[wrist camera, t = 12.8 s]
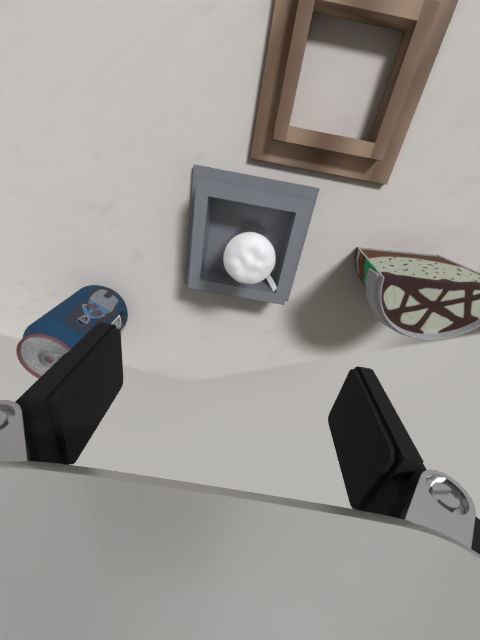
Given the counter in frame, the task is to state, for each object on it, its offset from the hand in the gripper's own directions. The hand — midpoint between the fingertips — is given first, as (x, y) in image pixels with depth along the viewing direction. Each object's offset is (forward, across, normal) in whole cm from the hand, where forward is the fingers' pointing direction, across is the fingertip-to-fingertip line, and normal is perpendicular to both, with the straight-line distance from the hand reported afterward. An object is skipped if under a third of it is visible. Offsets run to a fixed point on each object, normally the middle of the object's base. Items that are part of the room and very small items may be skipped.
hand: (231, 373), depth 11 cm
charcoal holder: (+24, 0, 0) cm, 24 cm away
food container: (+24, -17, +1) cm, 30 cm away
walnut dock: (+24, -6, -15) cm, 29 cm away
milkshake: (+23, 0, 0) cm, 23 cm away
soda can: (+24, +17, +12) cm, 32 cm away
